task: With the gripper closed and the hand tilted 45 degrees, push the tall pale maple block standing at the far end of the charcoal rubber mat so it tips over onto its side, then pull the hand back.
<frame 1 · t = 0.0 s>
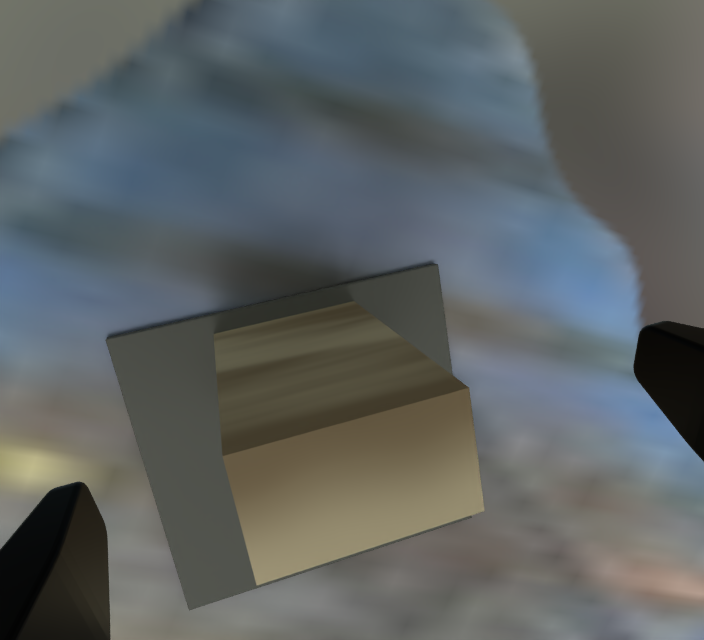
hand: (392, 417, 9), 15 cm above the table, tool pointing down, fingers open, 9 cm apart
maple block: (293, 356, 24), resting on rubber mat
rubber mat: (310, 436, 25), on the table
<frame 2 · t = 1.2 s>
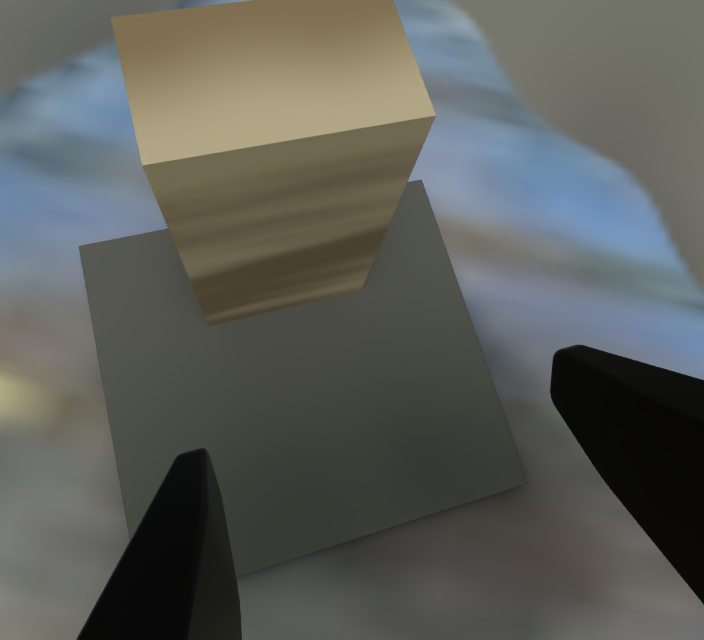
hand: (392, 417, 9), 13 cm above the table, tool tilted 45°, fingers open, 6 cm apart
maple block: (275, 266, 22), resting on rubber mat
rubber mat: (300, 365, 21), on the table
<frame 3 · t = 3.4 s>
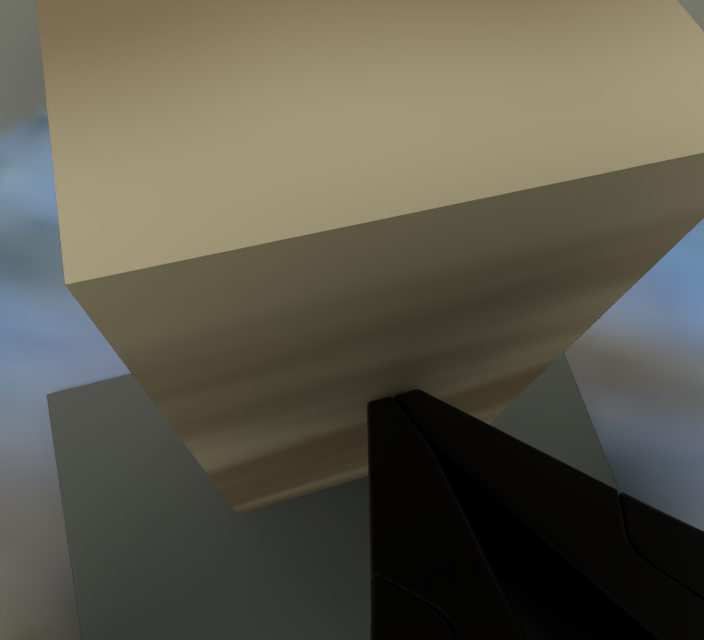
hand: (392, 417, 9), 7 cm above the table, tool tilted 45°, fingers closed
maple block: (336, 414, 15), point 1 cm above the table, tilted 10°, touching rubber mat
rubber mat: (376, 570, 14), on the table
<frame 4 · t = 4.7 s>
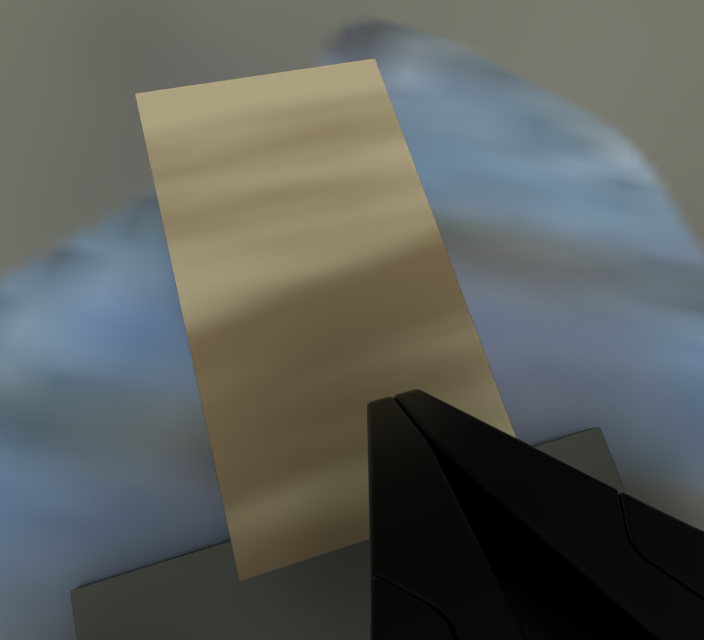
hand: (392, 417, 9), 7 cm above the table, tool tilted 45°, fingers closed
maple block: (380, 528, 12), point 2 cm above the table, tilted 92°, touching rubber mat
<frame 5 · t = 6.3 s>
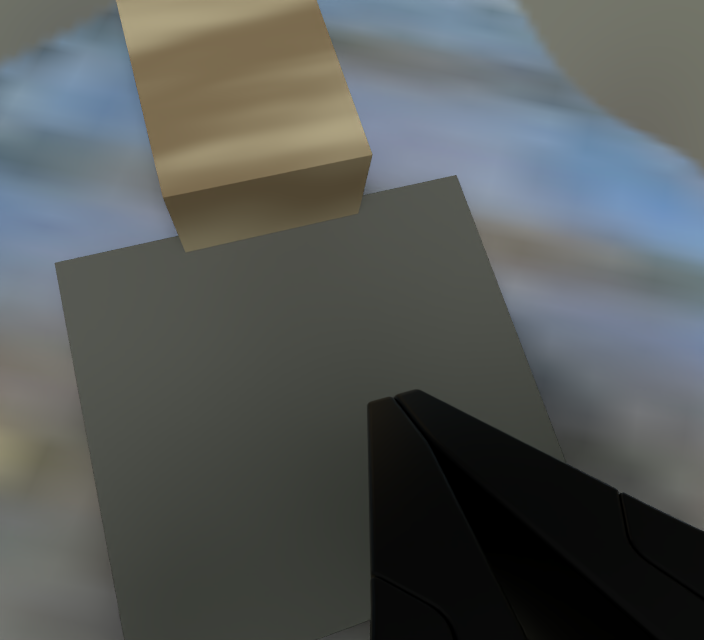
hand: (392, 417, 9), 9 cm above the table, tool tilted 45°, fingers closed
maple block: (273, 206, 17), point 2 cm above the table, tilted 92°, touching rubber mat
rubber mat: (321, 400, 18), on the table
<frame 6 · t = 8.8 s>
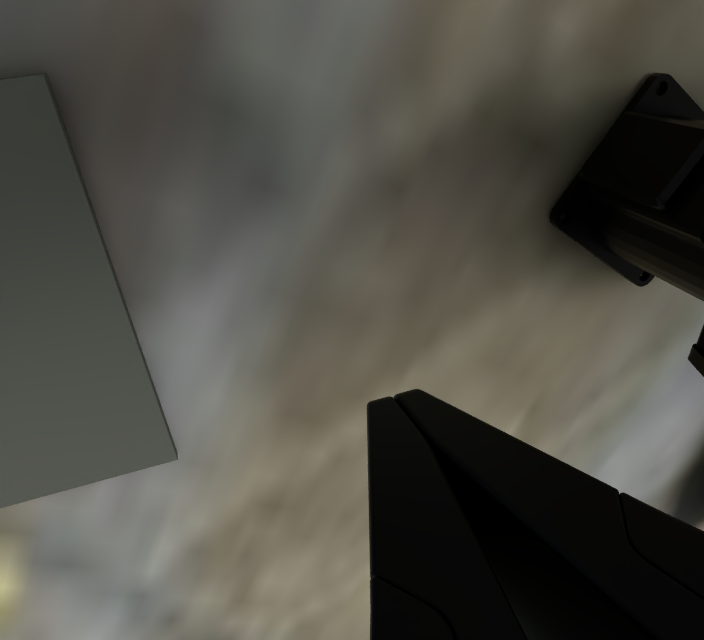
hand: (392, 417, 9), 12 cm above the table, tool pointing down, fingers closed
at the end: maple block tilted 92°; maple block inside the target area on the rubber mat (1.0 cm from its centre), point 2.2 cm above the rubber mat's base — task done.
